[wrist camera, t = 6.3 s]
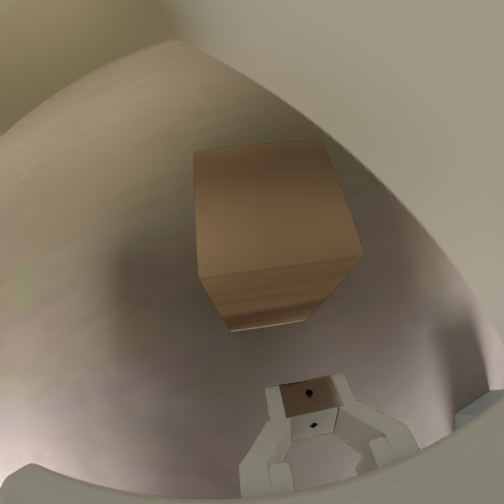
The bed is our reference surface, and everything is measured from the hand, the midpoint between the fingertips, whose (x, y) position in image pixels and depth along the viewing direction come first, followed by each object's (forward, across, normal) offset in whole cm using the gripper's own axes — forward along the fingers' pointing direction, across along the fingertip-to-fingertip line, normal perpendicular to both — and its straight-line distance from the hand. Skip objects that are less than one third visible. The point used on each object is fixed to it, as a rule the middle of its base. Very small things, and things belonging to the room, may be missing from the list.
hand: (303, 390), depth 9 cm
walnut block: (+10, 0, +1) cm, 10 cm away
